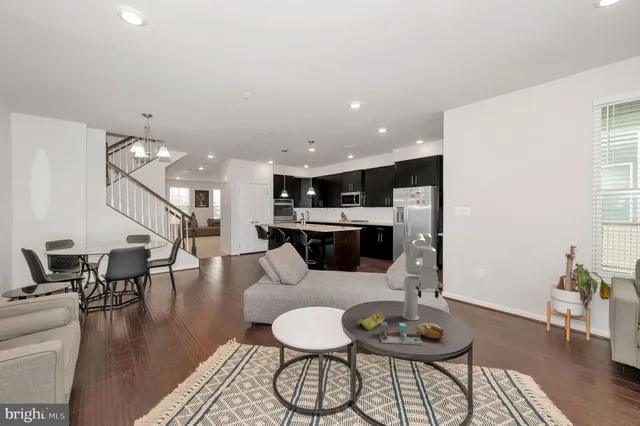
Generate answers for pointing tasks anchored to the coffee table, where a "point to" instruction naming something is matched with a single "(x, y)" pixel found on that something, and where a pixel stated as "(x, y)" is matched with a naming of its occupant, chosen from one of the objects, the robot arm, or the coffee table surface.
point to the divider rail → (386, 333)
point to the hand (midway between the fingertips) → (428, 297)
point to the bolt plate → (401, 340)
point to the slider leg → (403, 330)
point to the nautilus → (431, 331)
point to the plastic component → (372, 320)
